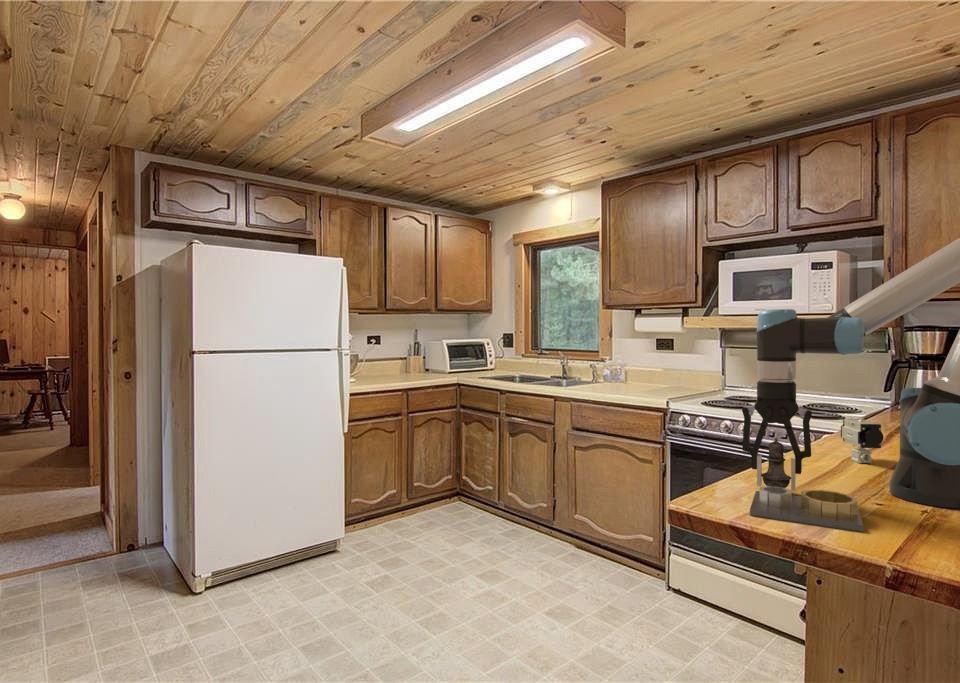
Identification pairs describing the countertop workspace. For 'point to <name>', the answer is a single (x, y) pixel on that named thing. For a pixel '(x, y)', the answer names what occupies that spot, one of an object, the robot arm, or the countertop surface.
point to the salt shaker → (776, 467)
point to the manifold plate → (803, 515)
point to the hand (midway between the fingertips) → (776, 486)
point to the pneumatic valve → (861, 437)
